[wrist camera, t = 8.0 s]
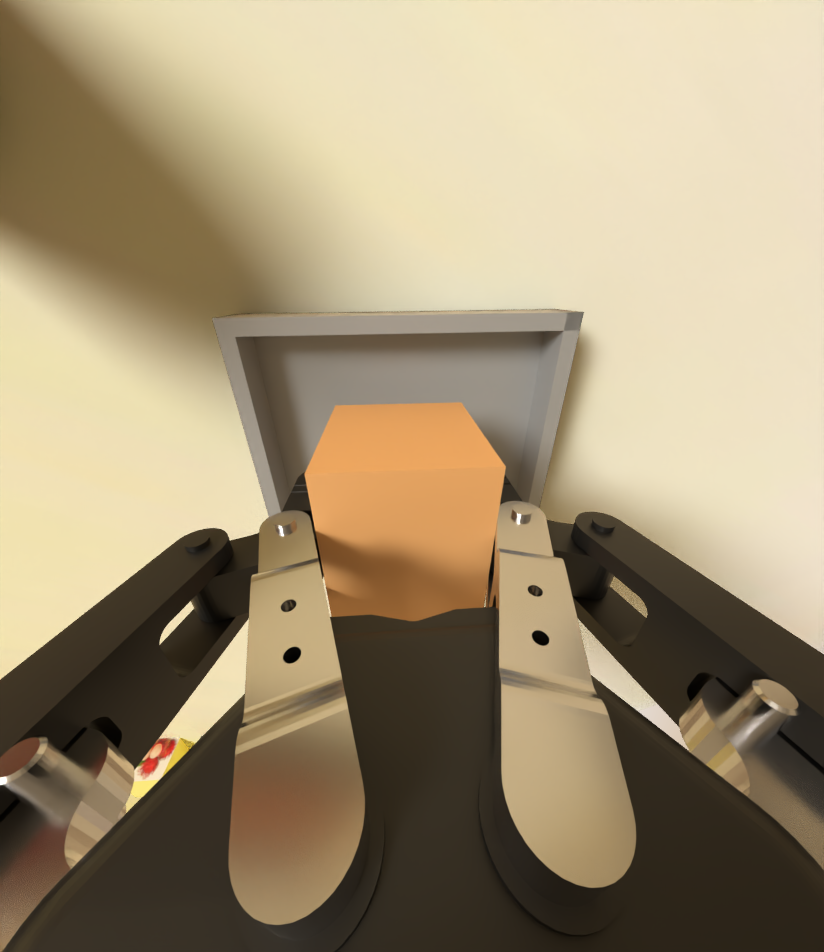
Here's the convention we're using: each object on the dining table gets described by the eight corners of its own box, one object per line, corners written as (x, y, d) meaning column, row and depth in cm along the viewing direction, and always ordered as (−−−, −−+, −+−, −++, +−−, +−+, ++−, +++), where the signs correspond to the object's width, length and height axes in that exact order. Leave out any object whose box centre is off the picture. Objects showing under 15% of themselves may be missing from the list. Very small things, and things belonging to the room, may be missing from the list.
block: (461, 402, 12) (505, 466, 7) (452, 523, 14) (481, 623, 10) (335, 405, 11) (304, 474, 7) (350, 528, 14) (334, 632, 10)
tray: (556, 309, 14) (583, 312, 12) (516, 519, 19) (530, 544, 17) (237, 314, 13) (212, 318, 11) (291, 530, 18) (280, 557, 16)
